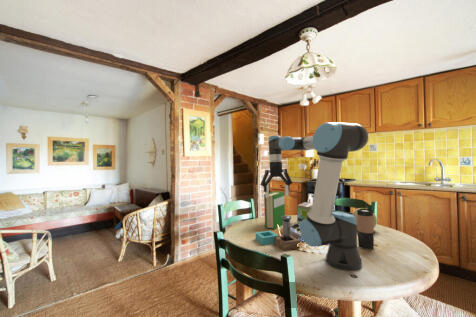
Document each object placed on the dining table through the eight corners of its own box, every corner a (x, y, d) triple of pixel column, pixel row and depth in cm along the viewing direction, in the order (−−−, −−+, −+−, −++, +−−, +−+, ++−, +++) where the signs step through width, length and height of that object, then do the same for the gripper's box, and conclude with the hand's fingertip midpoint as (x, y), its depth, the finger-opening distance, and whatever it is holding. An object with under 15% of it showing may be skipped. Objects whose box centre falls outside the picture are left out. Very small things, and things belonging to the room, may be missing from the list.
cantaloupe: (348, 230, 149) (347, 207, 149) (356, 225, 158) (355, 204, 158) (372, 235, 138) (372, 211, 138) (380, 230, 147) (379, 207, 148)
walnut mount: (300, 249, 120) (299, 240, 120) (283, 252, 116) (283, 243, 116) (290, 243, 129) (289, 234, 129) (274, 245, 126) (274, 236, 126)
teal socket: (278, 244, 128) (278, 235, 128) (262, 246, 125) (262, 238, 125) (270, 238, 137) (270, 230, 137) (255, 240, 134) (255, 232, 134)
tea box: (310, 227, 157) (310, 206, 157) (297, 225, 163) (296, 205, 163) (317, 222, 169) (316, 202, 169) (304, 220, 175) (304, 201, 175)
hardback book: (274, 230, 154) (273, 195, 154) (265, 228, 158) (264, 194, 158) (285, 223, 168) (284, 191, 168) (276, 222, 172) (275, 191, 172)
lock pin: (293, 246, 121) (293, 217, 121) (285, 248, 119) (284, 218, 119) (288, 243, 126) (287, 214, 126) (280, 244, 124) (279, 215, 124)
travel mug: (376, 250, 117) (375, 211, 117) (360, 249, 118) (359, 211, 118) (370, 244, 124) (369, 208, 124) (356, 243, 126) (355, 208, 126)
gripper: (290, 161, 142) (291, 194, 141) (254, 162, 134) (255, 197, 134) (297, 160, 135) (298, 195, 134) (259, 161, 127) (260, 199, 126)
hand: (277, 196), depth 134 cm, fingers open, 13 cm apart
